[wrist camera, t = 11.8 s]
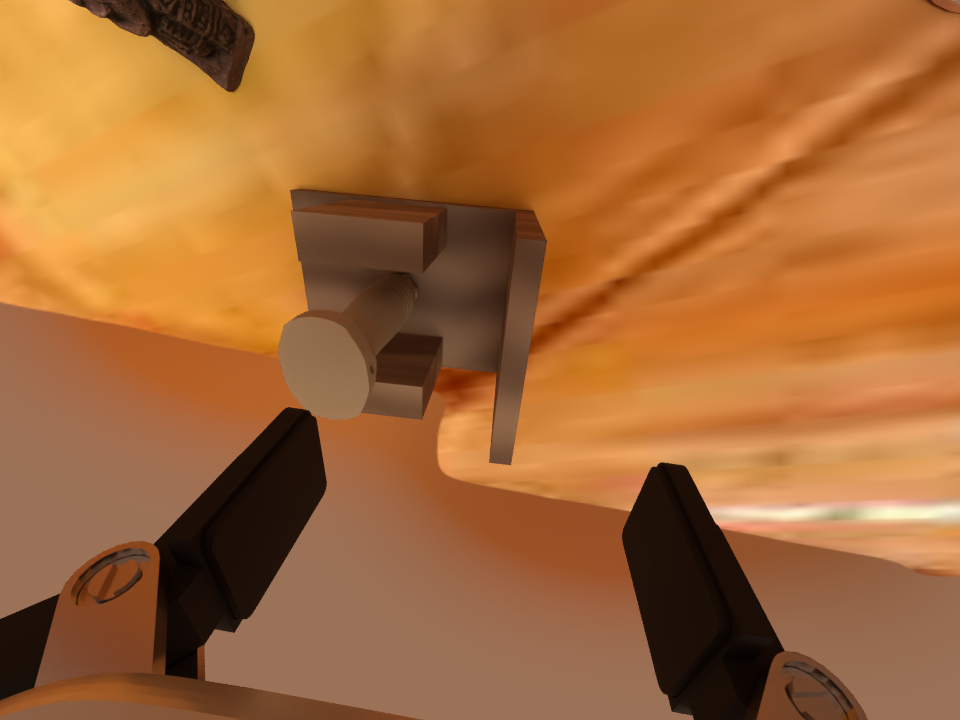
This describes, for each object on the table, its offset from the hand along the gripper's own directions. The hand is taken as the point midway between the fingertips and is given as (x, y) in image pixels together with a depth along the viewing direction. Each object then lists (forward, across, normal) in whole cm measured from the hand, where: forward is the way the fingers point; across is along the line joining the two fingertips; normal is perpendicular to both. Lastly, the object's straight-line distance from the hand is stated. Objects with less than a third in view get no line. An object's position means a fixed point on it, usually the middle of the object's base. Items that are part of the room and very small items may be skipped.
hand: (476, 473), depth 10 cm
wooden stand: (+25, +9, +4) cm, 27 cm away
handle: (+24, +9, +4) cm, 26 cm away
